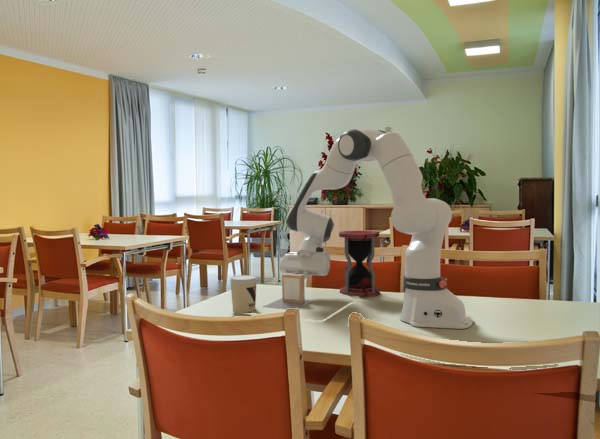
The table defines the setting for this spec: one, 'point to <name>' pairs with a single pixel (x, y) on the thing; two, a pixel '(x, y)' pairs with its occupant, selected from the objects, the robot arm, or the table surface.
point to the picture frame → (293, 288)
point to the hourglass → (359, 263)
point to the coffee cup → (243, 293)
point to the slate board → (286, 304)
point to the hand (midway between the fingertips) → (298, 282)
